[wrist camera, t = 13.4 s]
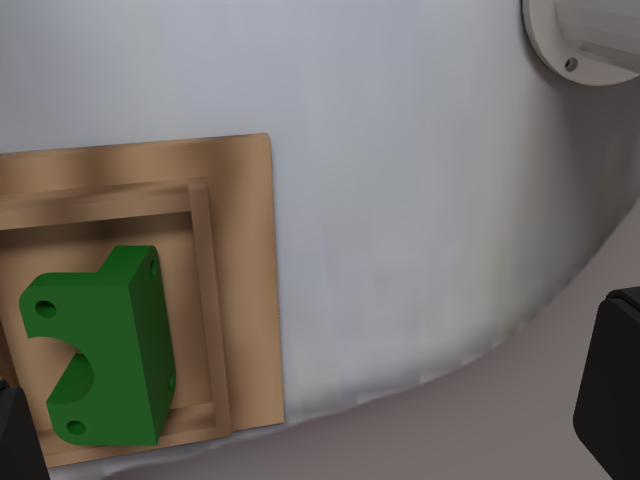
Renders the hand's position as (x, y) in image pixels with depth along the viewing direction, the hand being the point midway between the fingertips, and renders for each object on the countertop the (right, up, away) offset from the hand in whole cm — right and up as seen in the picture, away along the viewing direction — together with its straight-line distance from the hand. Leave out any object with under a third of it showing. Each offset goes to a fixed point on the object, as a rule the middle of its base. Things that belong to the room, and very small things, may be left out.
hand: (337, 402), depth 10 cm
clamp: (-14, -2, +29) cm, 32 cm away
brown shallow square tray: (-14, -2, +30) cm, 33 cm away
